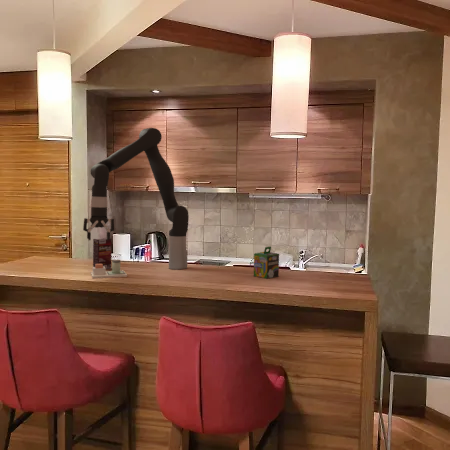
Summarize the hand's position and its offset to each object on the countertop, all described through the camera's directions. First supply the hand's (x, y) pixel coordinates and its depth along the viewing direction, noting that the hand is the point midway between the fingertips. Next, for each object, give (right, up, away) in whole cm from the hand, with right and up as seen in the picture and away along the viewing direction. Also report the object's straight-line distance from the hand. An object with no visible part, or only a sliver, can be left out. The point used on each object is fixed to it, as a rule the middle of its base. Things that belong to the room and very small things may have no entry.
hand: (98, 240), depth 232 cm
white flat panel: (+4, -17, +2) cm, 18 cm away
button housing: (0, -17, 0) cm, 17 cm away
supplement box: (-3, -16, +19) cm, 25 cm away
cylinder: (+8, -16, +3) cm, 18 cm away
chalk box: (+81, -18, +5) cm, 83 cm away
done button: (0, -14, 0) cm, 14 cm away
